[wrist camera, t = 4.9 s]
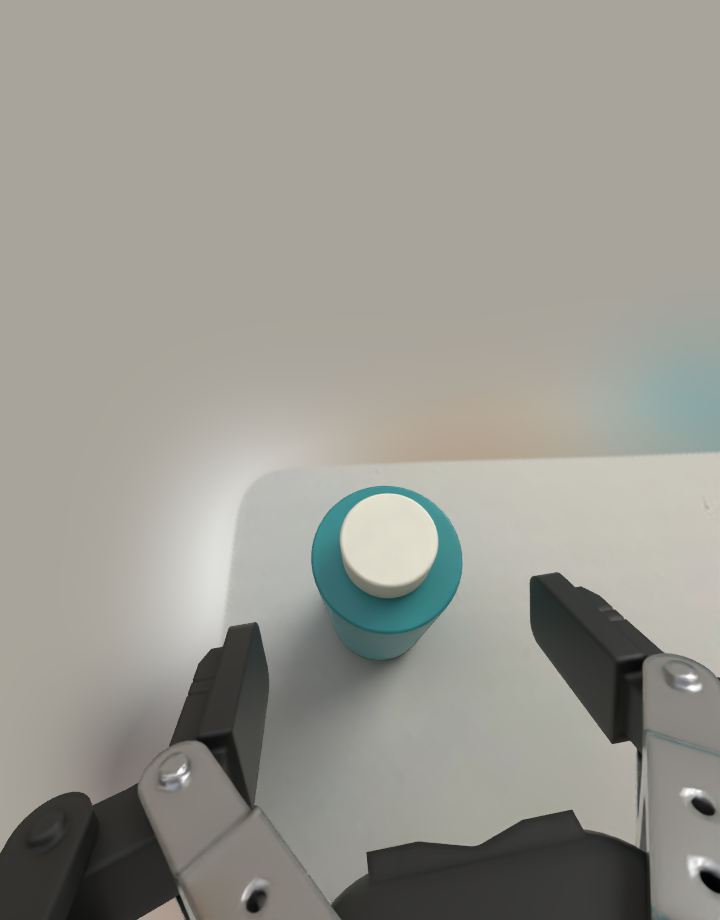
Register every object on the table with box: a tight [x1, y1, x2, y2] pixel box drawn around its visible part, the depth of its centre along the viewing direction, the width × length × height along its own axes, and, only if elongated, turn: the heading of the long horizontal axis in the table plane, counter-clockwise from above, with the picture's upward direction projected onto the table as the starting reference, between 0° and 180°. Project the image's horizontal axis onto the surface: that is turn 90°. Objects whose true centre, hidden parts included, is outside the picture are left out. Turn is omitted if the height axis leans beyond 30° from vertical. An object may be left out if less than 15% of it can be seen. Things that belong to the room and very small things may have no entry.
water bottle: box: [311, 486, 462, 660], centre depth 16 cm, size 4×4×10 cm
